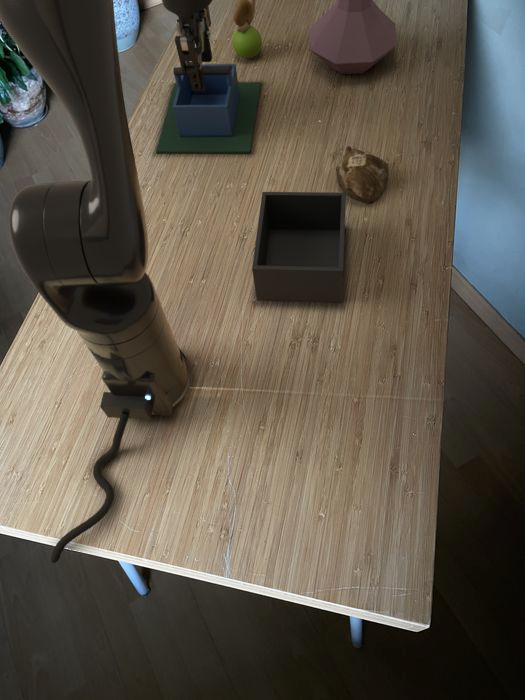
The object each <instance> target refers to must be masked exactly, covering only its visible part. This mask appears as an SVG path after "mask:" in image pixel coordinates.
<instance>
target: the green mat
mask: <svg viewBox="0 0 525 700" xmlns="http://www.w3.org/2000/svg"><path fill="white" fill-rule="evenodd" d="M238 86H239V93H240V96H239V101H238V107H237V113H236V118H235V124H234V129H233V135H232V137H180V135H179V131H178V127H177V123H176V119H175V115H174V111H173V104H174V100H175V96H176V92H177V88H178V87H177V85H176V82H175V83H173V86H172V91H171V95H170V97H169V101H168V106H167V109H166V110H167V111H166V113H165V116H164V121H163V124H162V128H161V131H160V135H159V139H158V143H157V147H156V151H155V153H156V154H158V155H161V154H162V155H167V154H168V155H171V154H172V155H173V154H174V155H176V154H177V155H179V154H180V155H185V154H186V155H187V154H188V155H192V154H193V155H196V154H197V155H199V154H201V155H208V154H209V155H219V154H220V155H221V154H222V155H248V154H249V155H250V154H252V148H253V140H254V139H253V138H254V133H255V127H256V120H257V114H258V107H259V100H260V95H261V87H262V82H261V81H248V82H247V81H245V82H244V81H243V82H239V81H238Z"/></svg>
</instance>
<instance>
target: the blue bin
mask: <svg viewBox="0 0 525 700" xmlns="http://www.w3.org/2000/svg"><path fill="white" fill-rule="evenodd" d="M202 65H203V74H204V79H205V84H206V88H205V90H204V91H193V90H192V89H191V84H190V79H189V74H183V73H182V68H181V66H180V67H179V66H178V67H173V76H174V80H175V83H176V85H177V87H178V88H177V92H176V96H175V100H174V104H173V111H174V115H175V119H176V123H177V127H178V131H179V135H180V137H232V135H233V129H234V124H235V118H236V113H237V107H238V101H239V96H240V93H239V86H238V82H239V79H238V72H237V71H238V70H237V65H236V63H212V64H210V63H209V64H208V63H206V64H205V63H204V64H203V63H202Z"/></svg>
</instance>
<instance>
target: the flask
mask: <svg viewBox="0 0 525 700" xmlns="http://www.w3.org/2000/svg"><path fill="white" fill-rule="evenodd" d="M397 46H398V37H397V28H396V23H395V22H394V21H393V20H392V19H391V18H390V17H389V16H388V15H387V14H386V13H384V11H383V10H381V8H379V6H378V5H377V3H375V1H374V0H336V1H335V2H334V3H333V5H332V6H331V7H330V8H329V9H328V10H327V11H326V13H324V14H323V15H322V16H321V17H320V18H319V19H317V21H316V22H314V24H312V26H311V27H309V47H308V50H309V51H310V52H312V54H313V55H315V57H317V58H318V59H319V60H320V61H322V62H323V63H324V64H325V65H326V66H327V67H329V68H331V69H332V70H334V71H336V72H338V73H339V74H341V75H351V74H352V75H353V74H354V75H355V74H363V73H365V72H366V71H368V70H369V69H370V68H372V67H373V66H375V65H376V64H378V63H379V62H380V61H381V60H382V59H383V58H384V57H385V56H387V55H388V54H389V53H390V52H391V51H392V50H394V48H396V47H397Z"/></svg>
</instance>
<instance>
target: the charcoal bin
mask: <svg viewBox="0 0 525 700" xmlns="http://www.w3.org/2000/svg"><path fill="white" fill-rule="evenodd" d="M346 203H347V194H346V193H345V192H336V191H335V192H325V191H323V192H321V191H319V192H317V191H262V192H261V200H260V207H259V214H258V222H257V229H256V238H255V245H254V250H253V251H254V252H253V260H252V266H251V271H252V277H253V282H254V289H255V296H256V300H257V302H258V301H261V302H287V303H288V302H290V303H291V302H292V303H293V302H294V303H323V304H325V303H326V304H342V300H343V285H344V284H343V281H344V263H345V262H344V260H345V235H346V233H345V232H346V208H347V206H346V205H347V204H346Z"/></svg>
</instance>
